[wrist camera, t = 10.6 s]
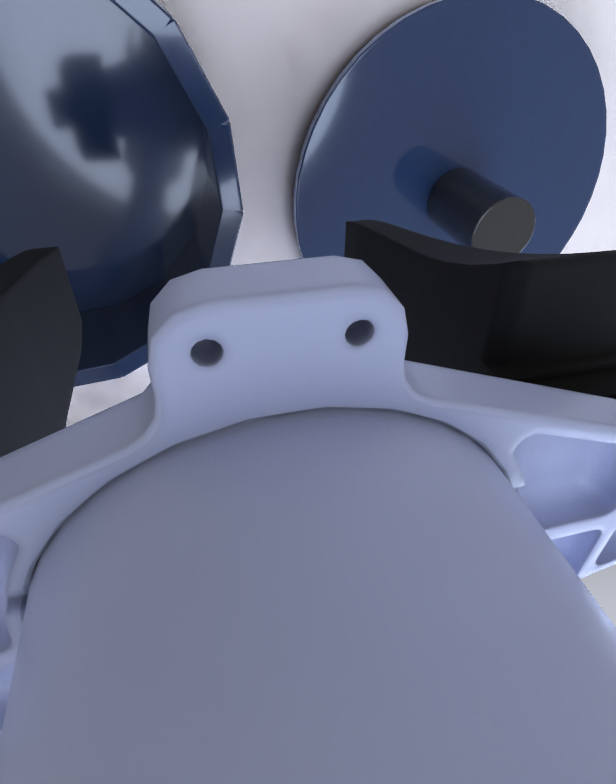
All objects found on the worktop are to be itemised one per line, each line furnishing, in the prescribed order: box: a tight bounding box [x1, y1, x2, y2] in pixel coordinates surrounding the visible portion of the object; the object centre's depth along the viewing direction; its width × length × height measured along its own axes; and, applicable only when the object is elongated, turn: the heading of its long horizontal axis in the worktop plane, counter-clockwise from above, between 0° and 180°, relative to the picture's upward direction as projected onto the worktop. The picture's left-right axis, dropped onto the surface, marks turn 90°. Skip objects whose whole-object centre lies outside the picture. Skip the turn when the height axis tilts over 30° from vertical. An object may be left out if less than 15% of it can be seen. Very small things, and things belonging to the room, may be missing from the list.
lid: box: [294, 0, 606, 259], centre depth 21 cm, size 14×14×5 cm
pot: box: [0, 0, 243, 387], centre depth 16 cm, size 13×13×5 cm
